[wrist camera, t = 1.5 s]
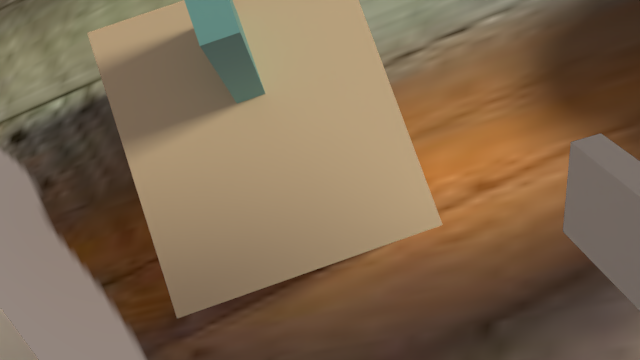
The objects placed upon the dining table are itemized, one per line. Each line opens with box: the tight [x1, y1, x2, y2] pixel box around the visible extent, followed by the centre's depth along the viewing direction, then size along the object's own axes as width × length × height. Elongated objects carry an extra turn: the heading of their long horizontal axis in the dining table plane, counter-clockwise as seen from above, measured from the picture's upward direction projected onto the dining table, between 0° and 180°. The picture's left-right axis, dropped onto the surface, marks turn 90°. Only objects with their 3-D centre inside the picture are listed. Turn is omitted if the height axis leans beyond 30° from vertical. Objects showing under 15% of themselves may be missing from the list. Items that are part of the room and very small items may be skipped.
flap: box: [88, 0, 442, 319], centre depth 32 cm, size 20×18×12 cm
